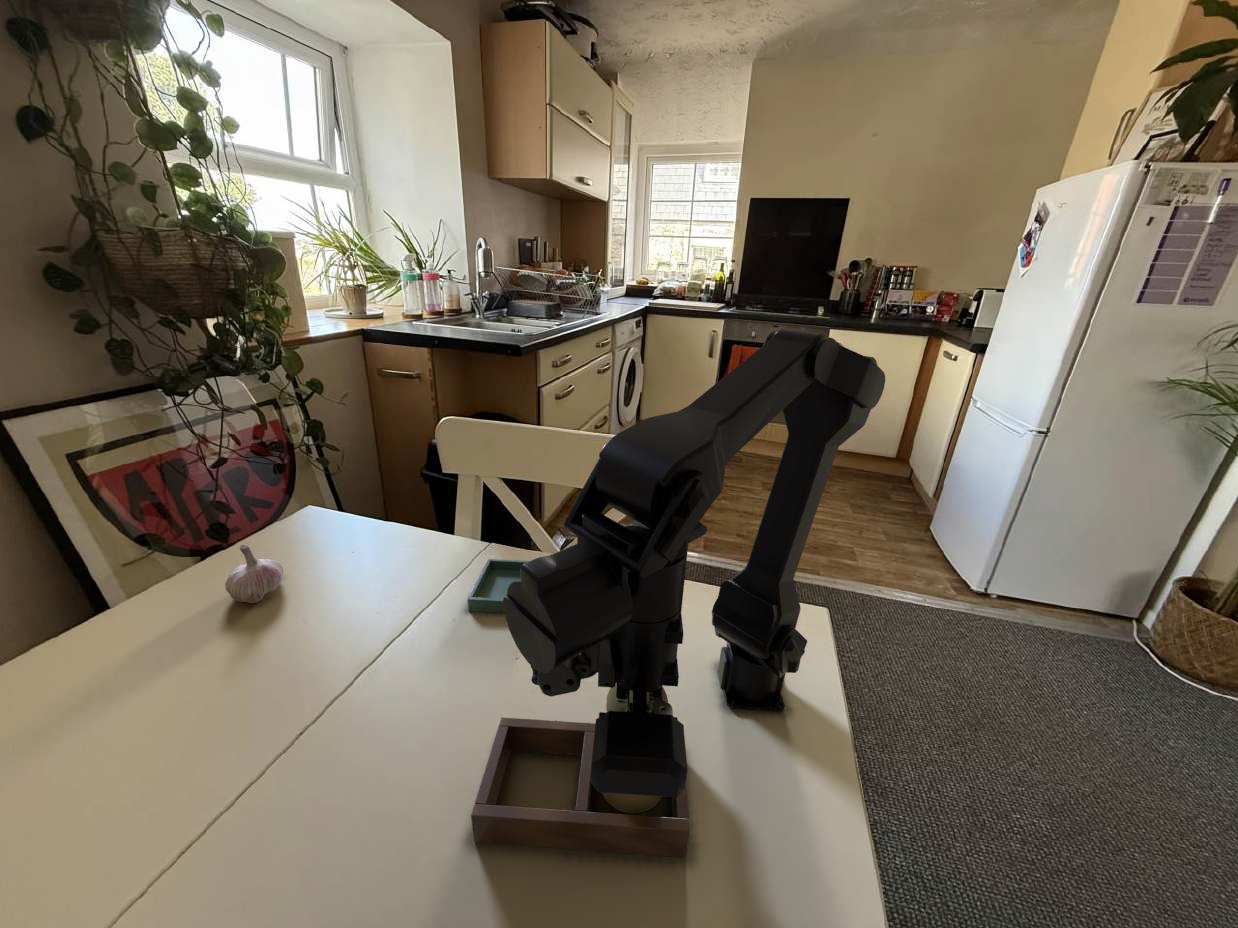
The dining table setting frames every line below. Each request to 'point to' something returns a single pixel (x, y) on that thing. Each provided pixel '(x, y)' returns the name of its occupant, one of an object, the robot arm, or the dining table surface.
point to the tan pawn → (629, 801)
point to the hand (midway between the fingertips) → (634, 743)
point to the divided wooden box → (580, 824)
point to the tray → (494, 585)
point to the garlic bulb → (253, 578)
